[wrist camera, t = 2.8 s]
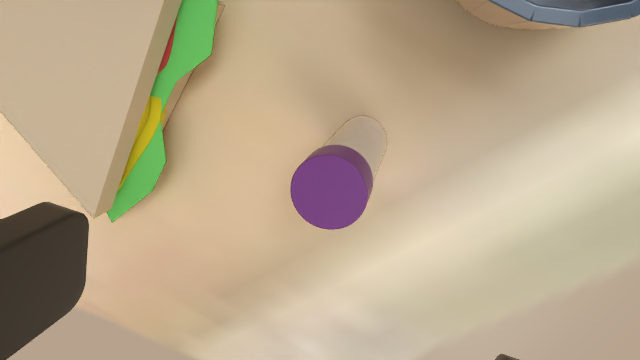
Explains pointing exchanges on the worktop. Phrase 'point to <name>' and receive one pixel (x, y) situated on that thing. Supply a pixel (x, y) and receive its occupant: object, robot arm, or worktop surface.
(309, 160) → the glue stick
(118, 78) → the sandwich
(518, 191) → the worktop surface
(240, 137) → the worktop surface
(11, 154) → the worktop surface
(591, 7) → the mug
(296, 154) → the worktop surface
